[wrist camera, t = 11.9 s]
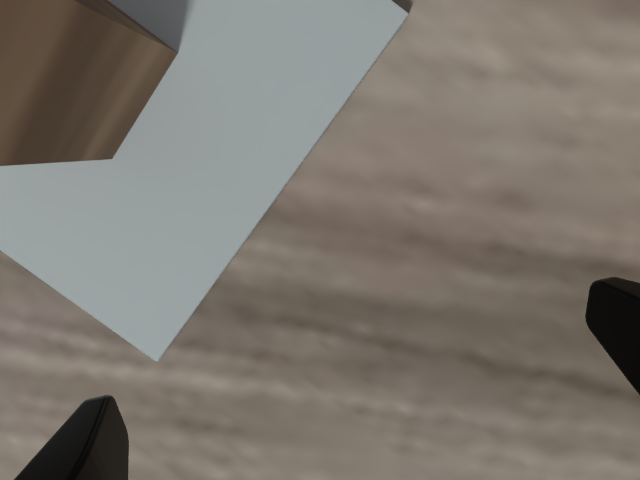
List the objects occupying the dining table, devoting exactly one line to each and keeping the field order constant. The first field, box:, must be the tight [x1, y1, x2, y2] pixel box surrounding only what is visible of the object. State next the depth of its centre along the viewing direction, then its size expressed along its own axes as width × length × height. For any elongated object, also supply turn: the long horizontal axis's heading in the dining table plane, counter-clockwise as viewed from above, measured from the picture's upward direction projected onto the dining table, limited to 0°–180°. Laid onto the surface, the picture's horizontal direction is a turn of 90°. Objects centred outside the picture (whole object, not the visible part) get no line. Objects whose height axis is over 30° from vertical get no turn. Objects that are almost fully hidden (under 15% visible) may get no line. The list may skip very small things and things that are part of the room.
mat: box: [0, 0, 409, 362], centre depth 18 cm, size 16×16×1 cm
